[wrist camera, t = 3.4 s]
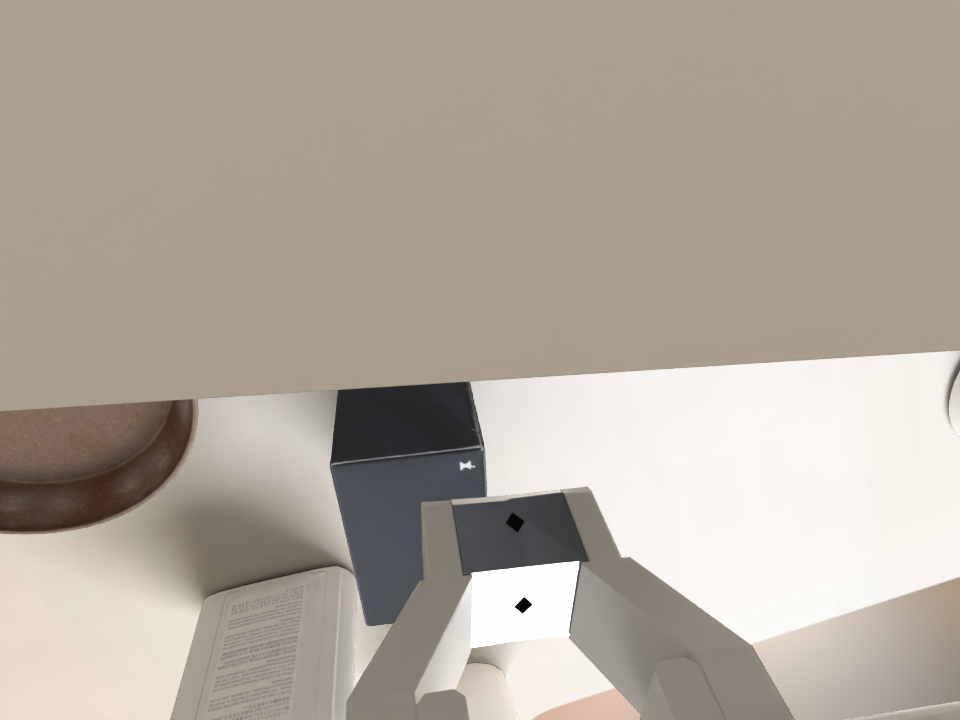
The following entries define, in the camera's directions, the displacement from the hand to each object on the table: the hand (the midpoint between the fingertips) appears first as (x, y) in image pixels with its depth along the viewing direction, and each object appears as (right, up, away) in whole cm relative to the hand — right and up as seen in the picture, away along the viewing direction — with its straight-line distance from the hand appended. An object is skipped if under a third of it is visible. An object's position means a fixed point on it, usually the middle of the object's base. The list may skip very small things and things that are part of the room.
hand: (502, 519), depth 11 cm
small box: (-5, 0, +24) cm, 24 cm away
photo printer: (-14, -13, +31) cm, 36 cm away
